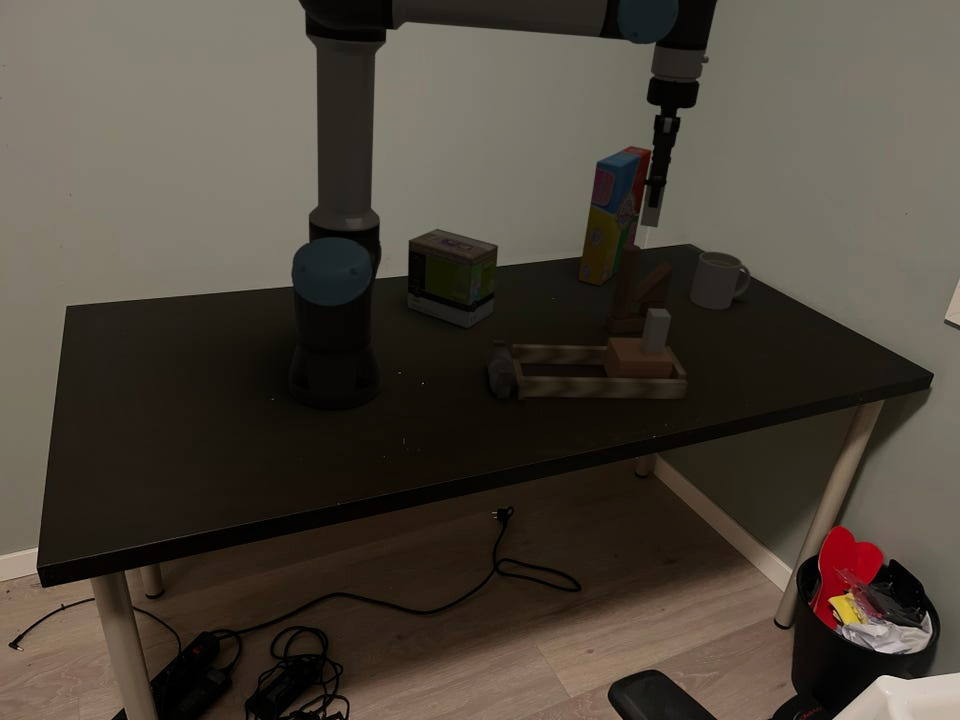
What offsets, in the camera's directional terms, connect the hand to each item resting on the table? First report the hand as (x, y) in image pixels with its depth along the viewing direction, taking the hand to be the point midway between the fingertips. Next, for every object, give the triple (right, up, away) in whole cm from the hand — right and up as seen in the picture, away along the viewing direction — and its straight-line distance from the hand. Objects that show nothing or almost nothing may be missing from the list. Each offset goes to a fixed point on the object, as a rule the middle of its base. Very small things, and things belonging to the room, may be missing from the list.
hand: (650, 213), depth 119 cm
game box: (+1, -3, +50) cm, 51 cm away
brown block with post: (-2, -28, +5) cm, 28 cm away
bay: (-11, -28, +5) cm, 31 cm away
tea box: (-35, -15, +26) cm, 46 cm away
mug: (+23, -12, +39) cm, 47 cm away
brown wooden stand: (+2, -19, +24) cm, 30 cm away
